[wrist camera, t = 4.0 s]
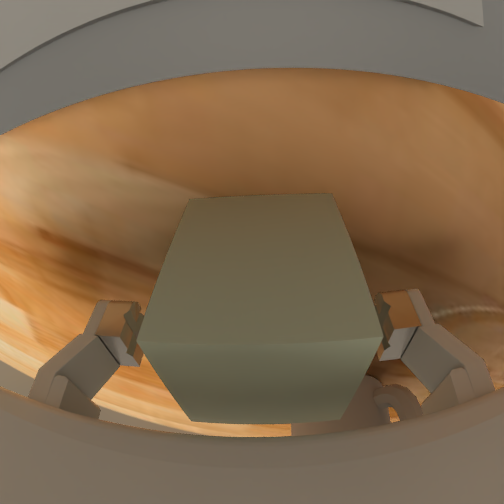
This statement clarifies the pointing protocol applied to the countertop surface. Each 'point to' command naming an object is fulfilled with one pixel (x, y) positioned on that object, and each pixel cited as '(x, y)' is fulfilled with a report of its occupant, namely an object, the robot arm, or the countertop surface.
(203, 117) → the countertop surface
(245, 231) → the sage block
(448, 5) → the tray
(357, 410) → the cup
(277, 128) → the countertop surface
